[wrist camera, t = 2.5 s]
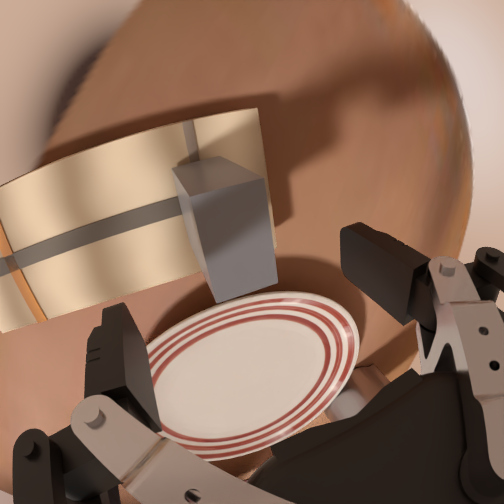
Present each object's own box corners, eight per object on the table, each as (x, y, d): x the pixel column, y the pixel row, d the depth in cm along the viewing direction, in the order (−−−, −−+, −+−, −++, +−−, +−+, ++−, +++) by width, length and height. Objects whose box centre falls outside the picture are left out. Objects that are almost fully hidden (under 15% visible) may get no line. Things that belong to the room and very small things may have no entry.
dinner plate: (381, 322, 36) (397, 337, 33) (259, 449, 41) (267, 465, 38) (201, 217, 22) (211, 234, 19) (83, 422, 27) (84, 445, 24)
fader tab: (219, 155, 18) (264, 177, 12) (233, 229, 20) (278, 282, 14) (171, 168, 17) (189, 196, 11) (189, 243, 19) (216, 303, 13)
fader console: (244, 108, 20) (258, 108, 17) (264, 235, 24) (277, 248, 22) (-40, 207, 14) (-56, 218, 12) (10, 315, 19) (1, 334, 17)
